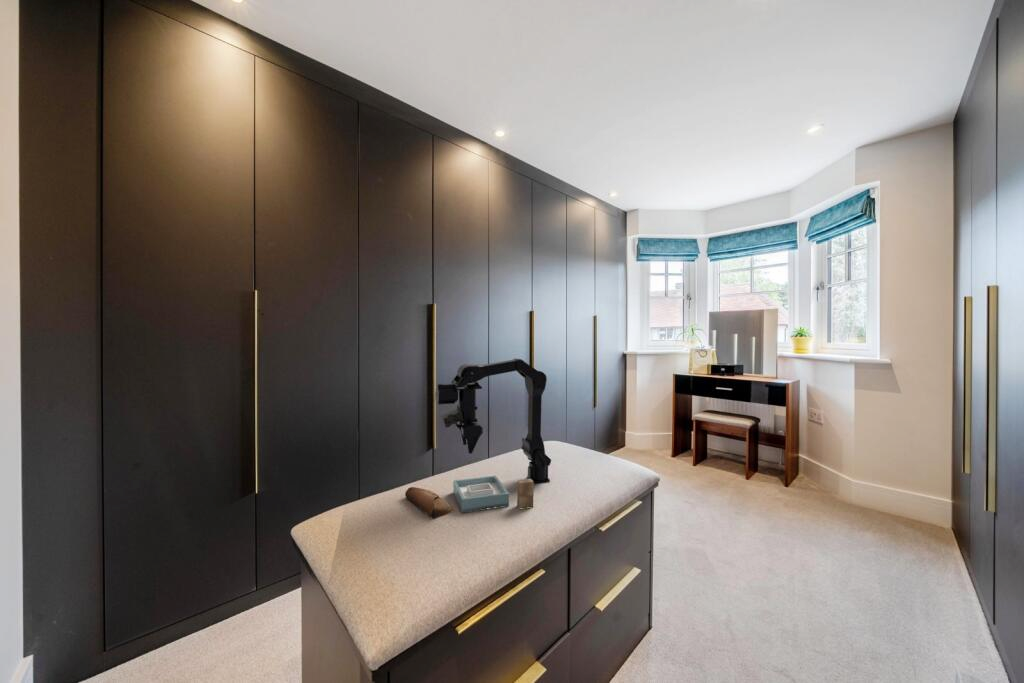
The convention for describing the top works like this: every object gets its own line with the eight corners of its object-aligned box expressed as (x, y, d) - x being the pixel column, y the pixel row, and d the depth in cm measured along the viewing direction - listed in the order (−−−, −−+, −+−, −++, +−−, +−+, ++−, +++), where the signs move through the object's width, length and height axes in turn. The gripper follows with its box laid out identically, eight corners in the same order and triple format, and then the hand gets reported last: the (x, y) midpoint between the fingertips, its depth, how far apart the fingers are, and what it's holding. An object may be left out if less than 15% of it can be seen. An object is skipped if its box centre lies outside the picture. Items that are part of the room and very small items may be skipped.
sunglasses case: (457, 510, 113) (447, 494, 110) (439, 529, 109) (428, 513, 107) (428, 490, 126) (419, 476, 124) (411, 506, 123) (401, 491, 120)
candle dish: (495, 486, 130) (495, 475, 130) (508, 506, 116) (509, 493, 116) (453, 492, 125) (453, 480, 125) (461, 513, 112) (462, 499, 111)
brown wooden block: (530, 503, 118) (530, 478, 118) (533, 507, 116) (533, 481, 115) (517, 505, 117) (517, 480, 116) (519, 509, 114) (520, 483, 114)
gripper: (439, 398, 132) (439, 443, 133) (447, 410, 114) (447, 461, 115) (470, 397, 136) (470, 440, 136) (483, 407, 118) (483, 457, 119)
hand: (467, 449), depth 126 cm, fingers open, 9 cm apart
